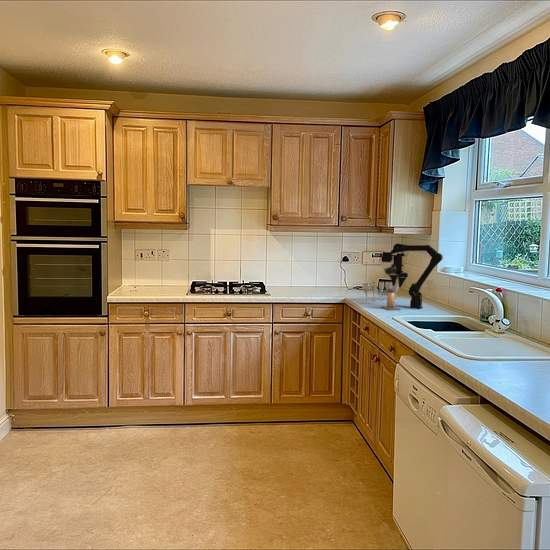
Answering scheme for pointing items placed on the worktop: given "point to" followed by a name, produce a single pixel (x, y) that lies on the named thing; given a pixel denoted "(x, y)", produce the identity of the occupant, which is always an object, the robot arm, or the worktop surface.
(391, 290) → the spice jar
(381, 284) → the goblet set
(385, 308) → the slate board
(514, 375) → the worktop surface
